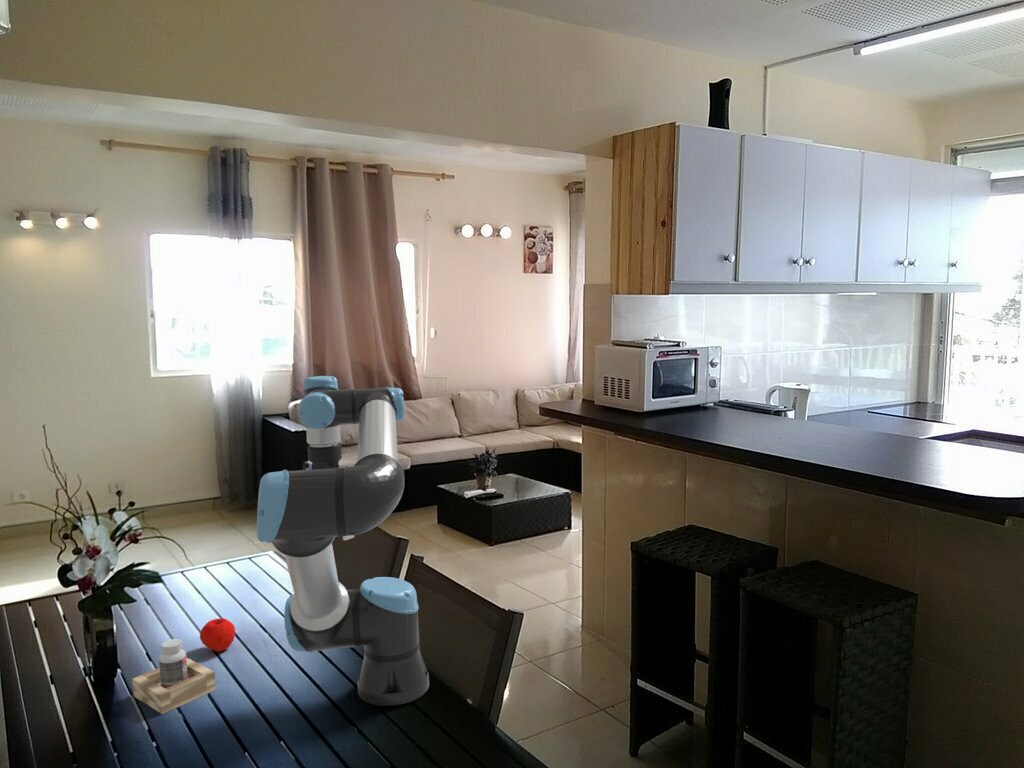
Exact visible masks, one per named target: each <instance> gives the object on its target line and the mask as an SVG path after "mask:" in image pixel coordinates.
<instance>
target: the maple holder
mask: <svg viewBox="0 0 1024 768" xmlns="http://www.w3.org/2000/svg"><path fill="white" fill-rule="evenodd" d="M186 661H187V673H188V679H186V680H184V681H182V682H179V683H177V684H175V685H172V686H170V687H168V688H163V687H161V680H160V668H159V667H157V668H154V669H152V670H149V671H147V672H145V673H143V674H140V675H138V676H135V677H133V678H131V680H132V692H133V697H134V698H135V699H137V700H139V701H141V702H142V703H144V704H146V705H147V706H149V707H150V708H152V709H153V710H155V711H156V712H158V713H159V714H161V715H163V714H165V713H167V712H170V711H173V710H174V709H177V708H179V707H181V706H183V705H185V704H188V703H189V702H192V701H194V700H196V699H198V698H201V697H203V696H205V695H207V694H210V693H212V692H214V691H216V690H217V685H216V683H217V682H216V674H215V673H216V672H215V671H213V670H212V669H209V668H207V667H206V666H204V665H202V664H200V663H198V662H196V661H195V660H192V659H190V658H188V656H186Z"/></svg>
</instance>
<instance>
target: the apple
mask: <svg viewBox="0 0 1024 768" xmlns="http://www.w3.org/2000/svg"><path fill="white" fill-rule="evenodd" d="M235 628H236V627H235V625H234V624H233V623H232V622H231V621H230V620H228V619H227V618H221V617H220V618H214V619H211V620H209V621H208V622H206V623H205V625H204V626H203V627H202V628H201V630H200V633H199V639H200V641H201V643H202V644H203V645H204V646H206V647H207V649H209V650H211V651H213V652H223V651H225V650H228V648H229V647H231V645H232V644H233V642H234V640H235V637H236V629H235Z"/></svg>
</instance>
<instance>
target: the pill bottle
mask: <svg viewBox="0 0 1024 768" xmlns="http://www.w3.org/2000/svg"><path fill="white" fill-rule="evenodd" d="M160 646H161V647H160V648H161V649H160V650H161V653H160V654H159V657H158V665H159V667H158V668H160V680H161V687H163V688H168V687H170V686H172V685H175V684H177V683H179V682H182V681H184V680H186V679H188V673H187V661H186V657H187V653H186V650H184V649H183V643H182V640H181V639H179V638H174V639H173V638H172V639H167V640H165V641H164V642H162V643H161V645H160Z"/></svg>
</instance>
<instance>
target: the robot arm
mask: <svg viewBox="0 0 1024 768" xmlns="http://www.w3.org/2000/svg"><path fill="white" fill-rule="evenodd" d="M303 381H304V382H303V393H304V396H303V397H302V398H301V400H300V403H299V405H298V416H299V420H301V422H302V424H303V425H305V427H306V428H305V429H306V430H305V431H306V442H307V444H308V446H307V461H304V462H303V463H302V470H301V469H299V470H287V469H283V470H281V471H273V472H272V471H271V472H267V473H265V474H264V475H263V476H262V477H261V478H260V482H259V486H258V487H259V488H258V498H257V511H256V514H257V515H256V537H257V541H259V542H260V543H266V544H270V543H272V545H273V547H274V548H275V550H277V551H278V552H279V553H280V554H282V555H284V559H285V563H286V566H287V571H288V575H289V578H290V582H291V587H292V590H293V594H291V595H289V596H288V598H287V599H286V602H285V605H284V614H283V615H284V619H283V620H284V621H283V622H284V629H285V631H286V633H285V635H286V639H287V642H288V645H289V646H290V648H291V649H292V650H293V651H295V652H299V653H300V652H303V653H304V652H306V653H313V652H317V651H327V650H337V649H344V648H345V649H347V648H348V649H349V648H359V647H363V652H364V653H363V655H364V656H363V660H362V663H361V670H360V673H359V675H358V677H357V684H356V685H357V694H358V696H359V698H360V699H361V700H362V701H363V702H365V703H368V704H371V705H375V706H380V707H385V706H386V707H390V706H391V707H392V706H400V705H403V704H408V703H410V702H414V701H415V700H417V699H420V698H421V697H422V696H424V695H425V694H426V692H427V691H428V690H429V687H430V676H429V675H430V674H429V671H428V669H427V667H426V663H425V661H424V658H423V656H422V654H421V651H420V650H421V649H420V634H419V616H418V614H419V613H418V611H419V603H418V598H417V591H416V589H415V587H414V586H413V584H411V582H408V581H406V580H404V579H401V578H397V577H391V576H380V577H379V576H378V577H377V576H376V577H373V578H368V579H365V580H364V581H362V583H361V584H360V586H359V589H358V588H356V589H346V587H345V586H344V584H342V583H341V582H340V581H339V579H338V578H339V577H338V573H337V572H338V571H337V565H336V559H335V554H334V548H333V542H334V540H335V538H336V537H337V538H338V537H342V540H343V541H348V540H350V539H351V540H352V539H354V538H355V536H357V535H361V534H363V533H366V532H369V531H371V530H372V529H374V528H376V527H377V526H379V525H380V524H381V523H383V522H384V521H385V520H386V519H387V518H388V517H389V516H390V515H391V514H392V513H393V511H394V510H395V509H396V507H397V506H398V505H399V502H400V501H401V498H402V496H403V493H404V489H405V470H404V468H403V466H402V464H401V463H400V461H399V456H398V455H399V454H398V435H397V422H402V421H403V420H404V419H405V404H404V403H405V401H404V391H403V390H402V388H401V387H386V386H384V387H377V388H376V387H375V388H374V387H373V388H372V387H371V388H360V389H359V388H358V389H357V388H356V389H339V385H338V379H337V377H336V376H333V375H332V376H331V375H317V376H310V377H306V378H305V379H304V380H303ZM341 425H358V441H357V442H358V443H357V458H356V459H357V461H356V462H355V463H354V465H353V466H345V467H340V464H339V463H340V460H342V458H343V451H342V444H341V443H340V442H341V439H342V438H341V436H342V435H341Z"/></svg>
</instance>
